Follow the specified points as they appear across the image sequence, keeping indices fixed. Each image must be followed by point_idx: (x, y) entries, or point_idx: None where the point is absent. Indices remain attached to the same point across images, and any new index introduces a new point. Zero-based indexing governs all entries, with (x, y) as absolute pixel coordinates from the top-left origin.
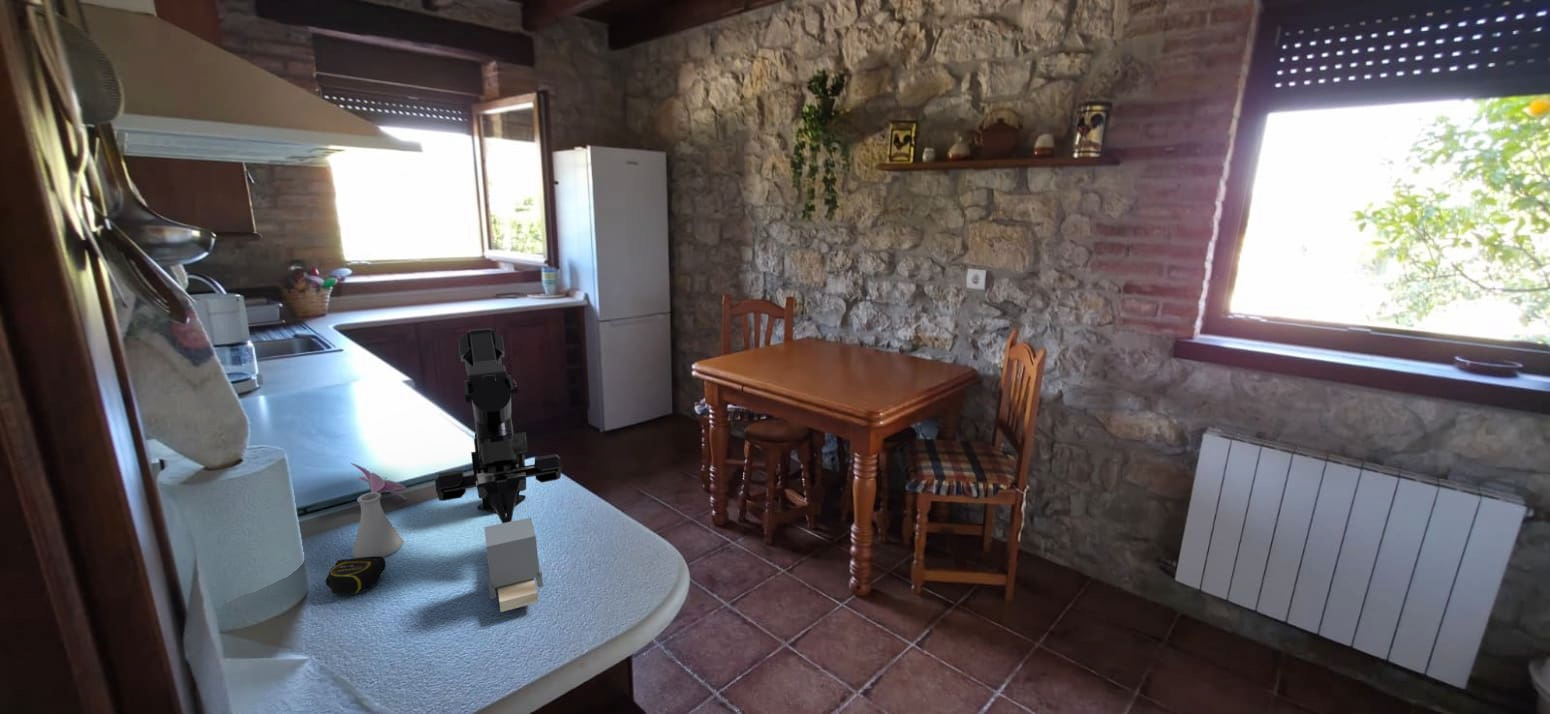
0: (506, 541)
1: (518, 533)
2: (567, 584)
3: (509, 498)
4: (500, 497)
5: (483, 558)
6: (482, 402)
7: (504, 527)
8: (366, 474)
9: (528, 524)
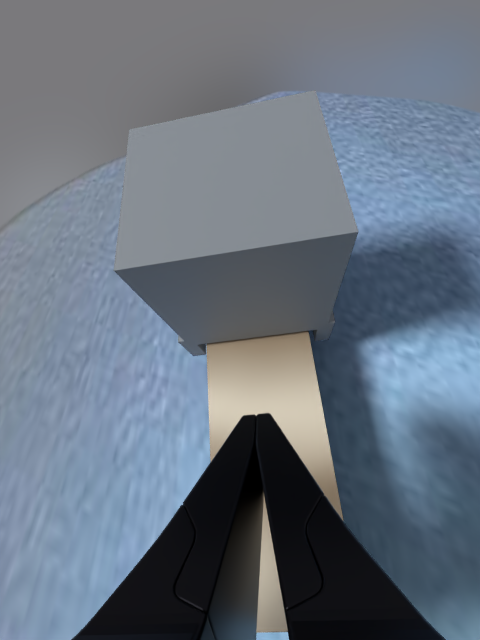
0: (237, 112)
1: (188, 152)
2: (147, 305)
3: (197, 544)
4: (281, 572)
5: (375, 539)
6: None
7: (247, 206)
8: None
9: (138, 210)
